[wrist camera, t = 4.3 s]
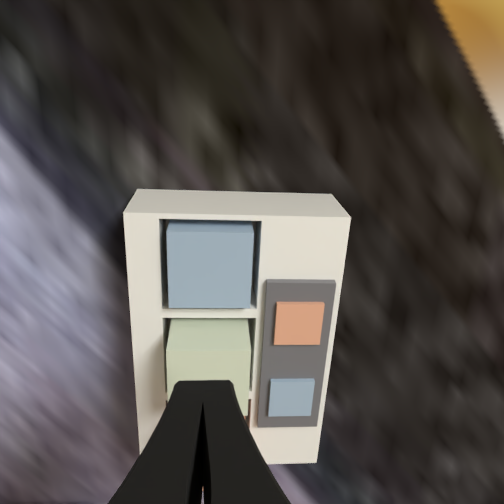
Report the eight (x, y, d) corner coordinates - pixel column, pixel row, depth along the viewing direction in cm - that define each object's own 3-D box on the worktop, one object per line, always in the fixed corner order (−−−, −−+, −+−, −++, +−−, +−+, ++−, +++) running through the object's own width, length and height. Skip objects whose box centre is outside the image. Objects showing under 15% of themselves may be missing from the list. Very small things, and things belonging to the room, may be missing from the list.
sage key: (173, 375, 19) (168, 416, 17) (172, 315, 18) (166, 350, 16) (243, 374, 19) (247, 415, 17) (247, 315, 18) (251, 350, 16)
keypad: (149, 418, 23) (139, 476, 20) (137, 189, 18) (120, 217, 15) (304, 415, 24) (318, 472, 20) (331, 194, 19) (354, 222, 16)
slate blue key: (174, 278, 19) (168, 307, 16) (172, 209, 18) (166, 231, 15) (246, 279, 19) (250, 308, 17) (249, 211, 18) (254, 232, 16)
